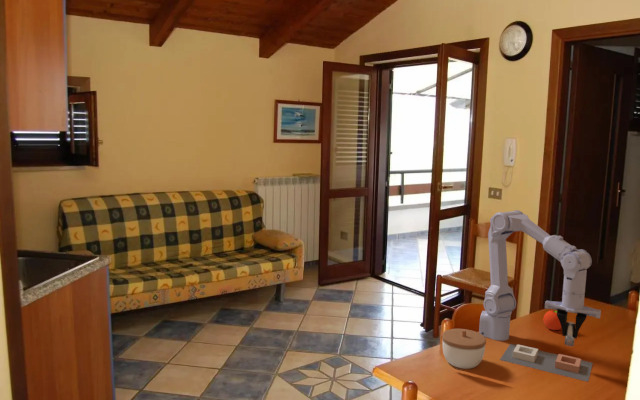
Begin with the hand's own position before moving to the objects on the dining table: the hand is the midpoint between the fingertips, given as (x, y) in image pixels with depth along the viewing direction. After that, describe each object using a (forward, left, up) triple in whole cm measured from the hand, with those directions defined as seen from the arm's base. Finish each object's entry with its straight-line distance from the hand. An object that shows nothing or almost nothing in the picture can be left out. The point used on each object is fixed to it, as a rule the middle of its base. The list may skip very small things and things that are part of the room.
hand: (569, 336), depth 150 cm
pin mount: (-12, 0, -10) cm, 15 cm away
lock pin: (0, 0, -3) cm, 3 cm away
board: (-6, 0, -10) cm, 12 cm away
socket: (0, 0, -10) cm, 10 cm away
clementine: (-8, +31, -11) cm, 34 cm away
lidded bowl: (-27, -15, -11) cm, 32 cm away
